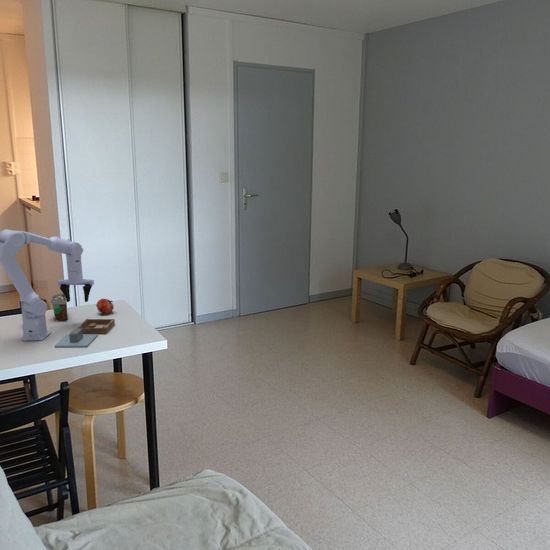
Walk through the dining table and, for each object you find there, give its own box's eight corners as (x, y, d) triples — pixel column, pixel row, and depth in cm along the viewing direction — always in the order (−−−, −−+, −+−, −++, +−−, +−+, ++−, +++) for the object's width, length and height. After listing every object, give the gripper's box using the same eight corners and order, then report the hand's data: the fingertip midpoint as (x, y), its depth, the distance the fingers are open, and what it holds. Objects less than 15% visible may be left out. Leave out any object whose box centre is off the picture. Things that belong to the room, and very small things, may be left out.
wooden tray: (106, 334, 215) (105, 328, 214) (76, 334, 215) (76, 328, 214) (114, 324, 227) (114, 319, 226) (86, 324, 227) (86, 319, 226)
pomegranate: (95, 320, 240) (109, 309, 236) (88, 306, 241) (101, 295, 237) (107, 317, 246) (120, 306, 242) (99, 304, 247) (113, 293, 243)
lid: (87, 348, 201) (86, 336, 200) (54, 348, 201) (53, 336, 200) (97, 337, 213) (96, 326, 212) (66, 337, 213) (65, 326, 212)
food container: (51, 315, 239) (49, 294, 237) (66, 313, 242) (64, 292, 240) (52, 323, 228) (50, 301, 226) (68, 321, 231) (66, 299, 229)
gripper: (95, 268, 225) (97, 298, 228) (61, 268, 225) (64, 298, 228) (89, 271, 218) (92, 303, 221) (54, 271, 218) (57, 303, 221)
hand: (77, 301), depth 224 cm, fingers open, 7 cm apart
